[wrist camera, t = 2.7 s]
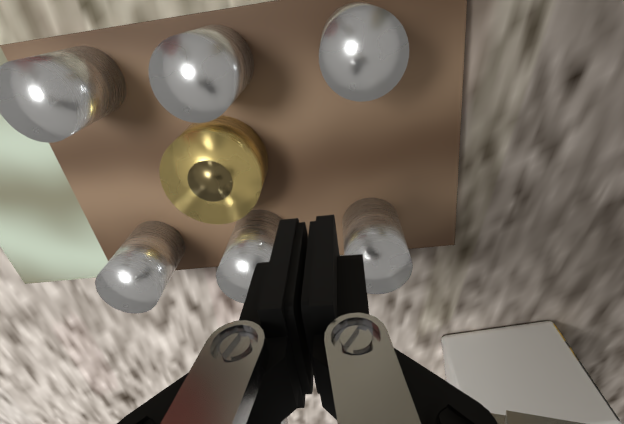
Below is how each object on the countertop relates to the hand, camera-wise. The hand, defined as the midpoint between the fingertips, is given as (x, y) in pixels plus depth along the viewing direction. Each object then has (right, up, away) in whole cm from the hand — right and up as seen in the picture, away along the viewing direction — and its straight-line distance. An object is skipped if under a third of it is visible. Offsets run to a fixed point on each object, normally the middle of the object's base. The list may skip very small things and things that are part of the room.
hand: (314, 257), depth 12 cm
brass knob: (-4, +4, +7) cm, 9 cm away
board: (-6, +4, +8) cm, 11 cm away
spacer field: (-4, +4, +7) cm, 9 cm away
